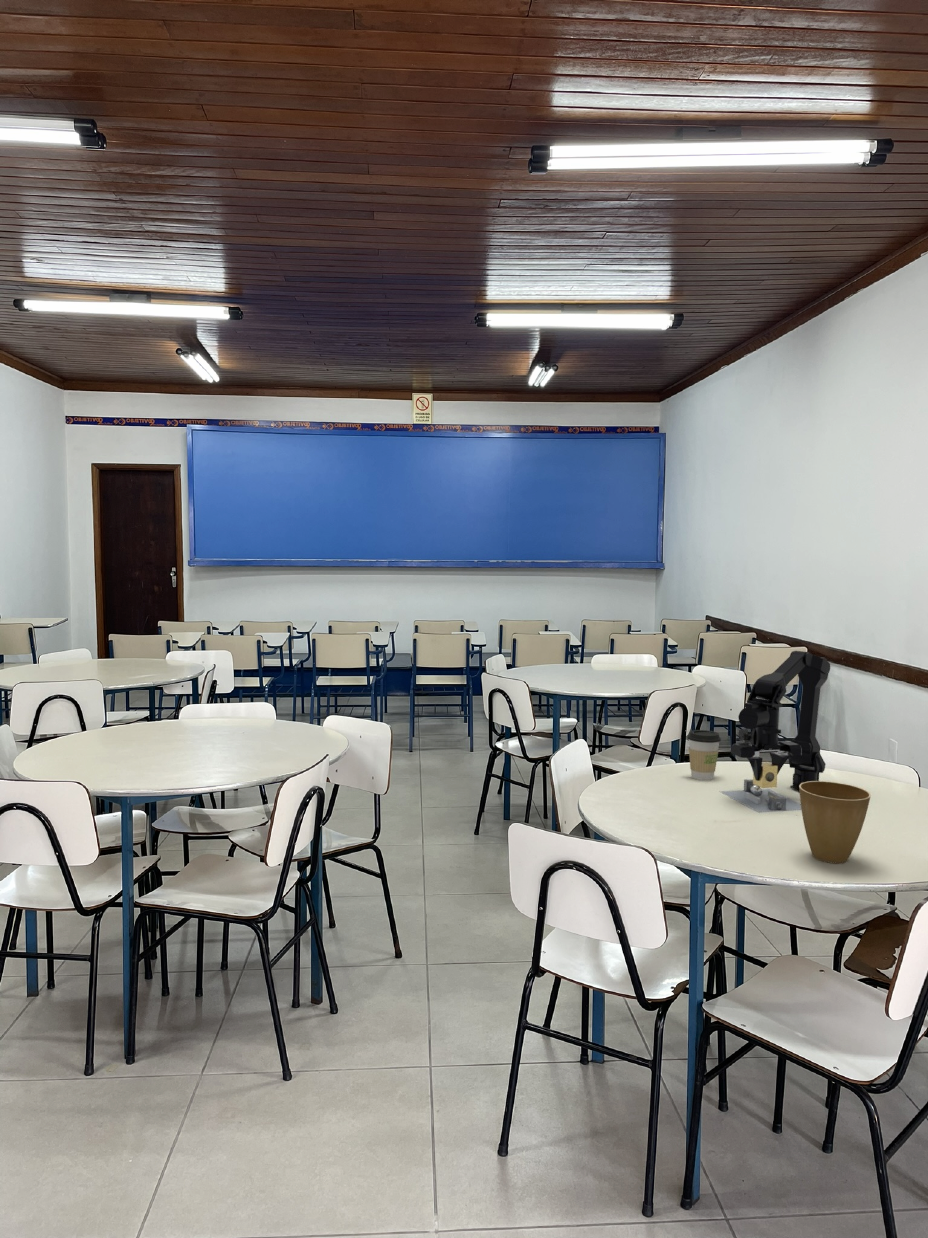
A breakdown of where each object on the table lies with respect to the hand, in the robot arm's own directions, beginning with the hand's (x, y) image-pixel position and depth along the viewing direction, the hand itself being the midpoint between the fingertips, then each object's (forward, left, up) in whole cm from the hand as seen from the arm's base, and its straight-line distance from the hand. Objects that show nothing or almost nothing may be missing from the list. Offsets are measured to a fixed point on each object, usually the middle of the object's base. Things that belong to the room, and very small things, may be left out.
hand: (765, 780), depth 235 cm
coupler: (0, 0, -2) cm, 2 cm away
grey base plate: (0, 0, -7) cm, 7 cm away
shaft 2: (+1, +7, -6) cm, 9 cm away
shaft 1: (-1, -7, -6) cm, 9 cm away
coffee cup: (+5, -25, -7) cm, 26 cm away
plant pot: (+9, +41, -7) cm, 43 cm away
